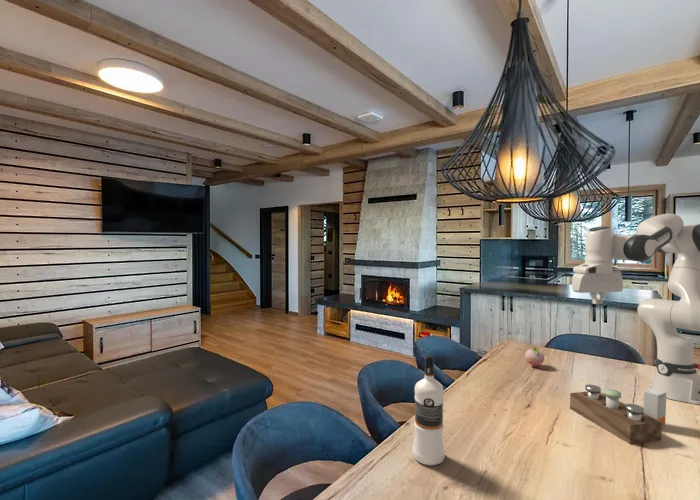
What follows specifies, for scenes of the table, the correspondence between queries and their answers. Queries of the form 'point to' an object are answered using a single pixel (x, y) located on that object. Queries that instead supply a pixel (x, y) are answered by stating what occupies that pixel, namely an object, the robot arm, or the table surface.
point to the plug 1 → (593, 391)
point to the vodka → (429, 418)
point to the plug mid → (612, 398)
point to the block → (616, 419)
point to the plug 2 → (634, 411)
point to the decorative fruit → (534, 357)
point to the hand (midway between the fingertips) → (597, 303)
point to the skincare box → (655, 404)
